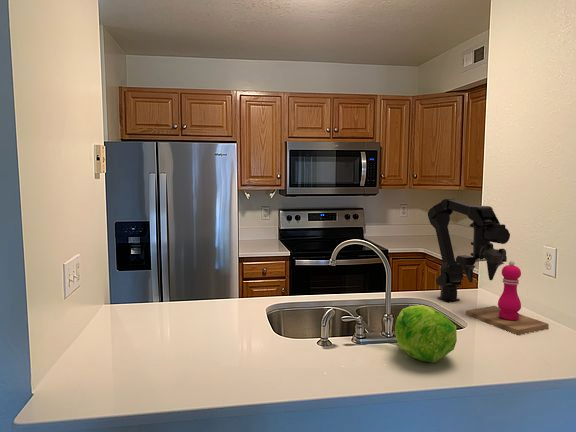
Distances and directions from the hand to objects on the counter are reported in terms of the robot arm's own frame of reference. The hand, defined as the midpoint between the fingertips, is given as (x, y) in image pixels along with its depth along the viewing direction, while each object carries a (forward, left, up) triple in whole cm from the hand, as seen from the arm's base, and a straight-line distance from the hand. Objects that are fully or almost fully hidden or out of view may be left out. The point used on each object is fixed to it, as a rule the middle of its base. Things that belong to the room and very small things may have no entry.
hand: (480, 281), depth 157 cm
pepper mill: (+12, +1, -10) cm, 16 cm away
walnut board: (+11, +1, -13) cm, 17 cm away
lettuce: (+25, -43, -12) cm, 51 cm away
